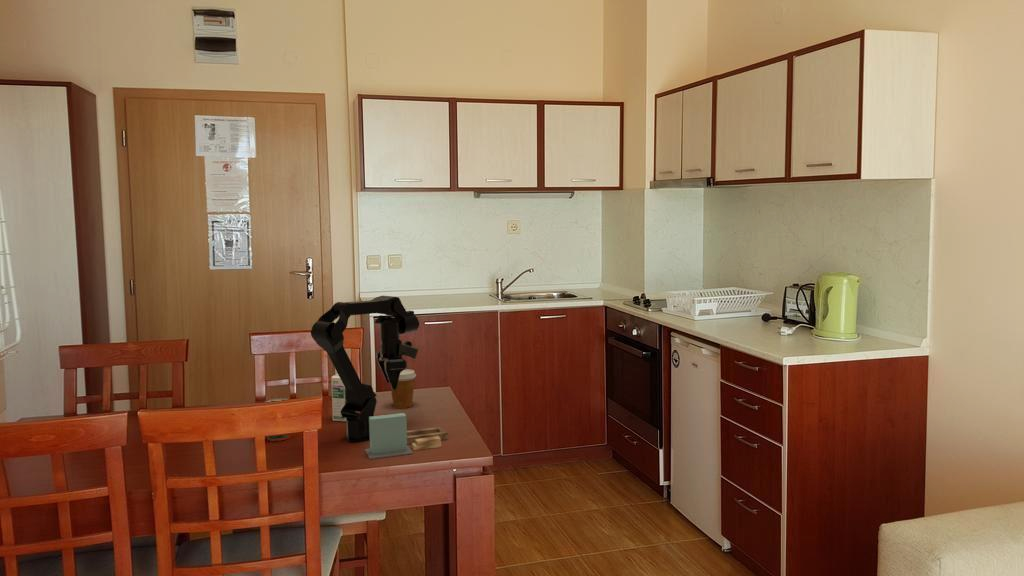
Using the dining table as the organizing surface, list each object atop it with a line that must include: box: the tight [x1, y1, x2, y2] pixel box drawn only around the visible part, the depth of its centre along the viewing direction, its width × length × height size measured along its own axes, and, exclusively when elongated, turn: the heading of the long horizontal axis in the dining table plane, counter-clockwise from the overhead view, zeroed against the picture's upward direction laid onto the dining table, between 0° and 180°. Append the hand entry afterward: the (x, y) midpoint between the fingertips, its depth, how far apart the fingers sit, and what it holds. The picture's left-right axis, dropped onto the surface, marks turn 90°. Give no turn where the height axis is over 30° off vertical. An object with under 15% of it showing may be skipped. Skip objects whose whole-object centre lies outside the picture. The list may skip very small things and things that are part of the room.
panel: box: [369, 412, 408, 455], centre depth 216 cm, size 10×3×10 cm, turn 110°
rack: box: [407, 426, 449, 445], centre depth 228 cm, size 15×7×2 cm, turn 110°
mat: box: [364, 444, 414, 460], centre depth 217 cm, size 12×8×1 cm, turn 110°
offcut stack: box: [411, 436, 442, 451], centre depth 221 cm, size 8×3×2 cm, turn 110°
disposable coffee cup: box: [389, 368, 417, 409], centre depth 264 cm, size 10×10×12 cm
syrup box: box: [330, 373, 347, 422], centre depth 249 cm, size 6×6×14 cm
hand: (391, 385), depth 240 cm, fingers open, 9 cm apart
